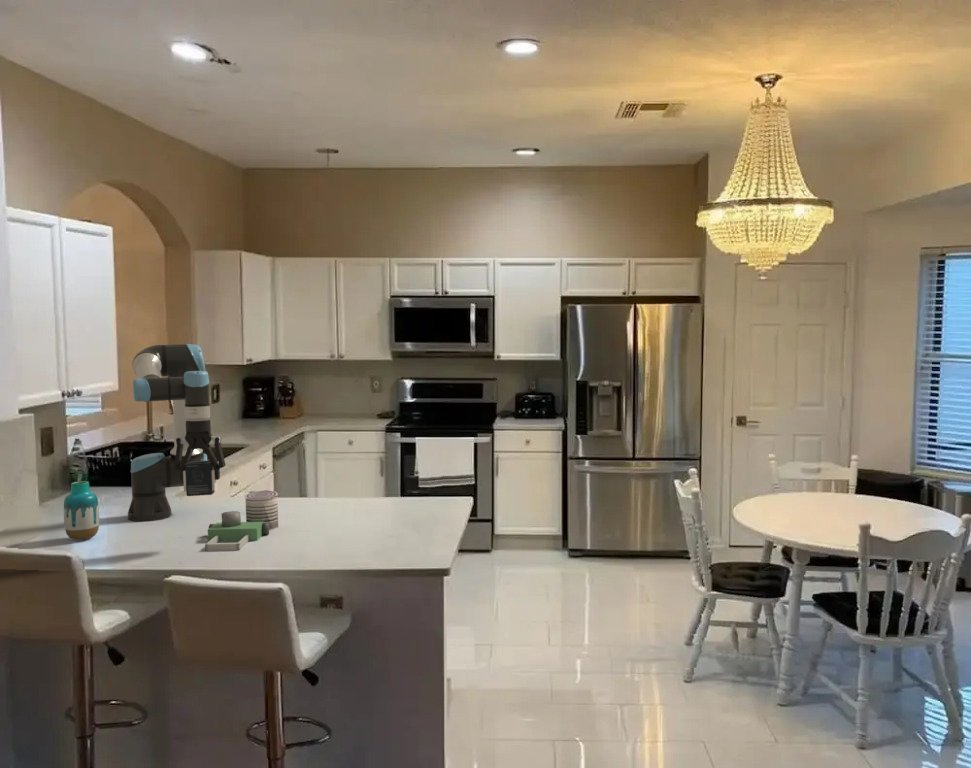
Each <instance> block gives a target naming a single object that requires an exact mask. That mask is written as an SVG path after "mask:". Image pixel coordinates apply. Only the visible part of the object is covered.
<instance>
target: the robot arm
mask: <svg viewBox="0 0 971 768" xmlns="http://www.w3.org/2000/svg"><path fill="white" fill-rule="evenodd" d="M131 365H132V367H131V368H132V372H133V373H134V374H135V375H136V378H134V379H133V381H132V392H133V400H134V401H135V402H144V403H148V402H161V401H162V402H165V401H172V411H173V414H172V415H173V440H174V441H173V442H174V443H173V444H174V447H173V448H171V450H170V452H169V453H170V455H168V456H165V454H164V453H163V452H156V453H149V454H148V453H147V454H143V455H140V456H138V457H135V458H133V459H132V461H131V463H130V472H129V473H131V474H130V475H131V501H130V503H129V507H128V511H127V520H129V521H132V522H147V521H148V522H150V521H157V520H162V519H166V518H169V517H171V516H172V508H171V504H170V503H169V500H168V498H167V495H166V489H167V488H175V487H176V488H177V487H183V491H184V492H186V473H185V464H186V463H187V462H189V461H209V460H210V462H211V464H212V466H213V468H214V469H213V470H212V491H218V480H220V478H221V474H220V473H221V471H220V470H221V469H222V468H224V467H226V461H225V456H224V452H223V448H222V444H221V443H222V437H221V436H213V434H212V428H211V427H212V426H211V423H212V422H211V420H210V418H211V407H210V406H211V405H210V379H209V373H208V371H206V367H205V360H204V355H203V351H202V348H201V346H200V345H198V344H191V343H180V344H179V343H178V344H177V343H176V344H154V345H150V346H147V347H145V348H143V349H142V350H140V351H139V352H137V353H136V355H135V356H134V358H133V360H132V363H131ZM211 442H212V443H213V444H214V450H215V453H216V455H215V453H214V452H213V450H212V447H211V444H210V443H211ZM203 451H204V452H205V453H204V452H203Z"/></svg>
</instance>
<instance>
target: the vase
mask: <svg viewBox="0 0 971 768" xmlns="http://www.w3.org/2000/svg"><path fill="white" fill-rule="evenodd" d="M99 509H100V507H99V500H98V496H97V494H96V493H94V492H92V491H91V489H90V482H89V481H75V482H71V484H70V492H69V494H67V495H66V496H65V498H64V500H63V523H64V530H65V534H66V535H67V536H68V538H70V539H72V540H76V541H84V540H87V539H91V538H93V537H94V536H96V535H97V534H98V531H99V528H100V510H99Z"/></svg>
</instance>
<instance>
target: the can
mask: <svg viewBox="0 0 971 768" xmlns="http://www.w3.org/2000/svg"><path fill="white" fill-rule="evenodd" d="M278 496H279V492H278V491H275V490H268V489H265V490H257V491H252V492H250V493H245V494H244V498H245V522H264V523H269V526H270V531H271V530H275V529H277V528H279V508H278V507H279V506H278V505H279V504H278V503H279V502H278V501H279V500H278Z"/></svg>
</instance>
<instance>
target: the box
mask: <svg viewBox="0 0 971 768" xmlns="http://www.w3.org/2000/svg"><path fill="white" fill-rule="evenodd" d="M213 469H214V468H213V466H212V464H211V462H210V460H209V459H208V460H207V461H189V462H187V463H186V464H185V473H186V491H185V492H186V497H195V496H196V497H198V496H212V495H214V494H215V491H216V490H215V491H212V470H213Z"/></svg>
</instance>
